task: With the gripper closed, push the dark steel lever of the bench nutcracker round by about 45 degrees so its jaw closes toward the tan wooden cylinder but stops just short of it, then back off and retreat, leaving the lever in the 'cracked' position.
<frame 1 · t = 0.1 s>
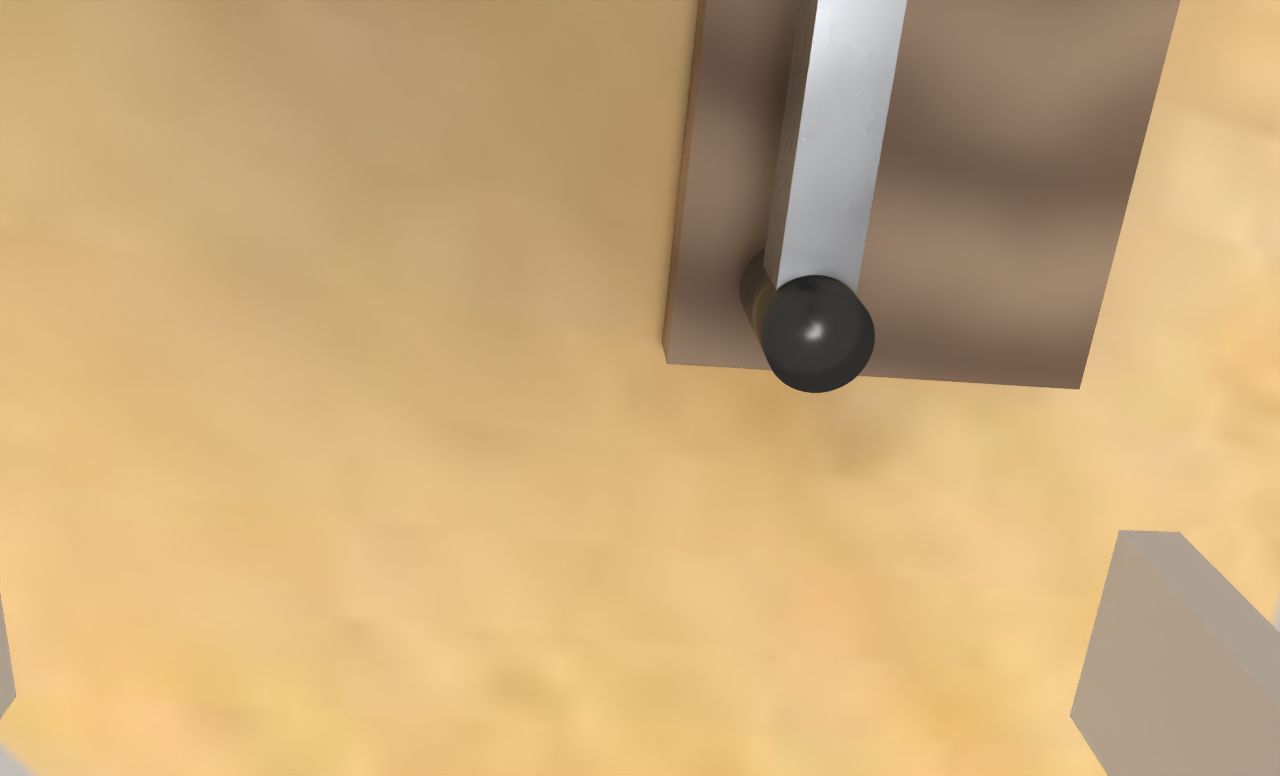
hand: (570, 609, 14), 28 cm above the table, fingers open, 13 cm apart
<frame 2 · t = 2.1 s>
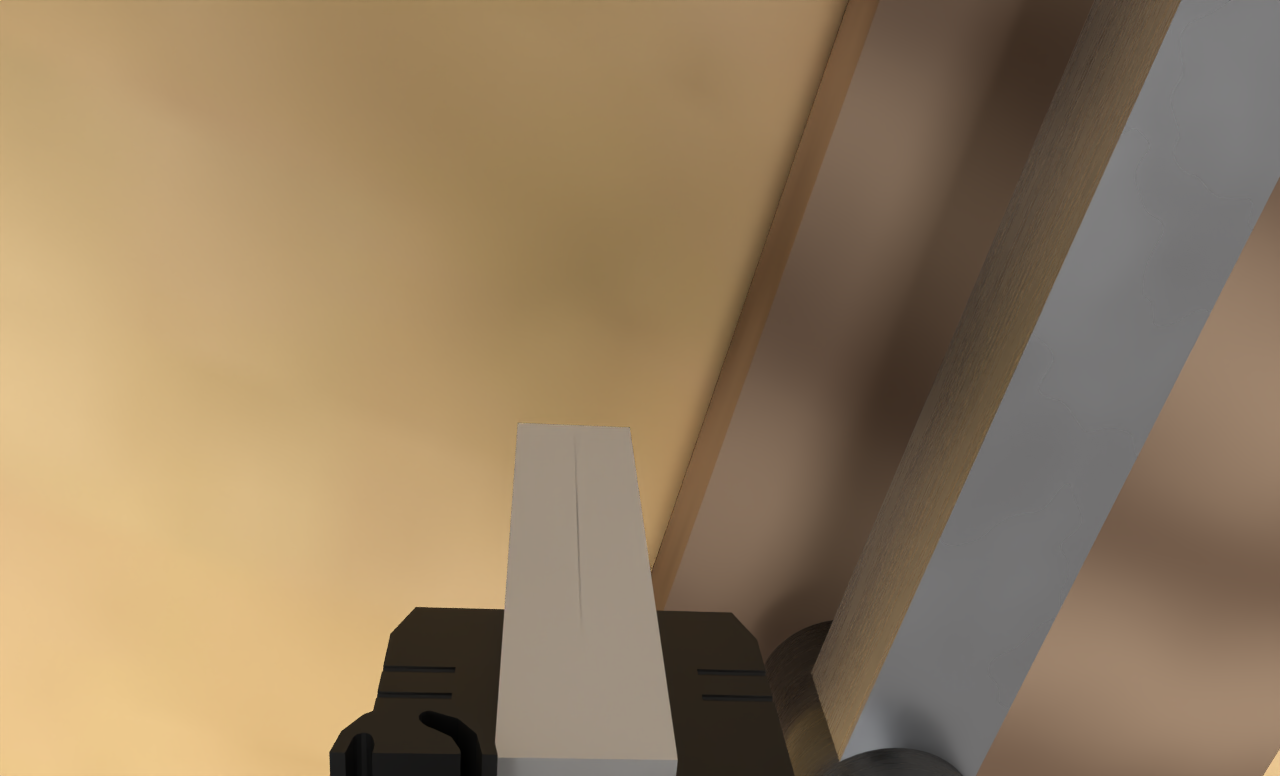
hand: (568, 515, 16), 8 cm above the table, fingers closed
lever: (1145, 190, 17), point 6 cm above the table, hinge at 0.0°
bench: (1206, 105, 23), on the table
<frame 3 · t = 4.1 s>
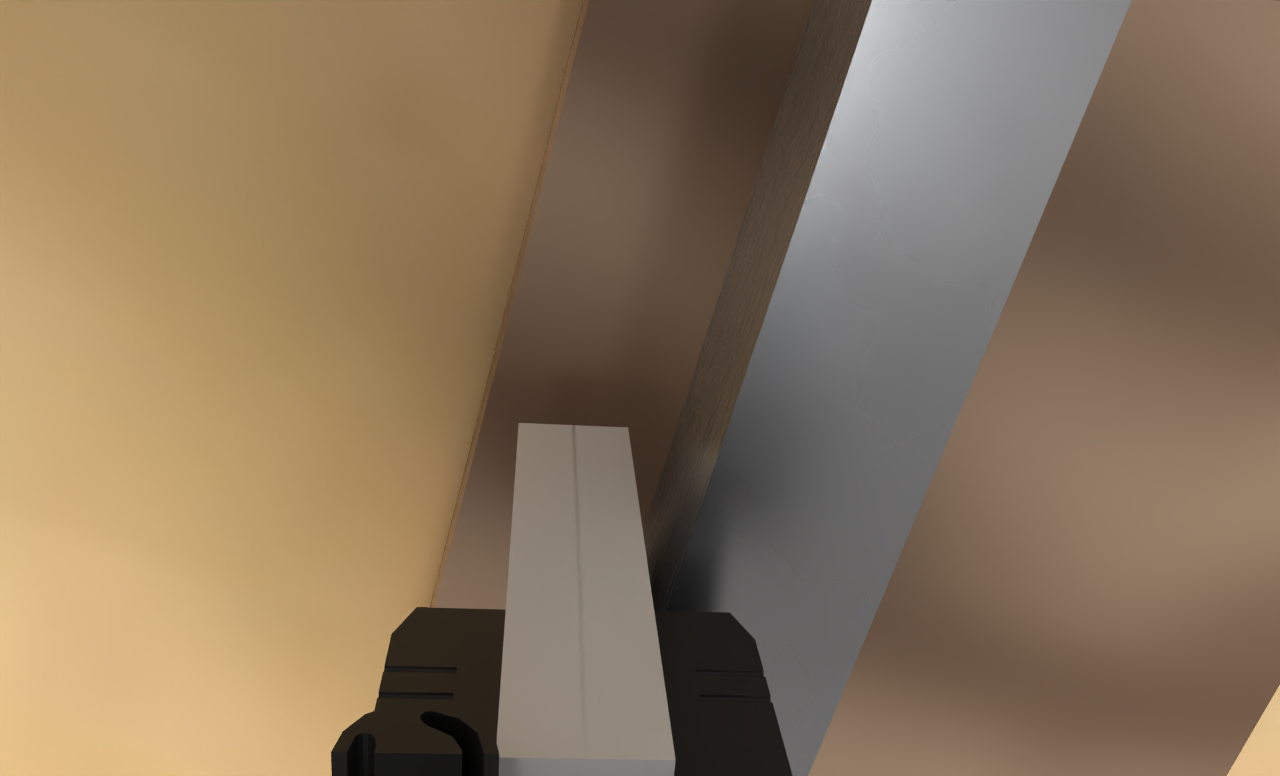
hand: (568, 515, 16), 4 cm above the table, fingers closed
lever: (873, 269, 13), point 6 cm above the table, hinge at 0.1°, touching gripper
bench: (1027, 145, 19), on the table
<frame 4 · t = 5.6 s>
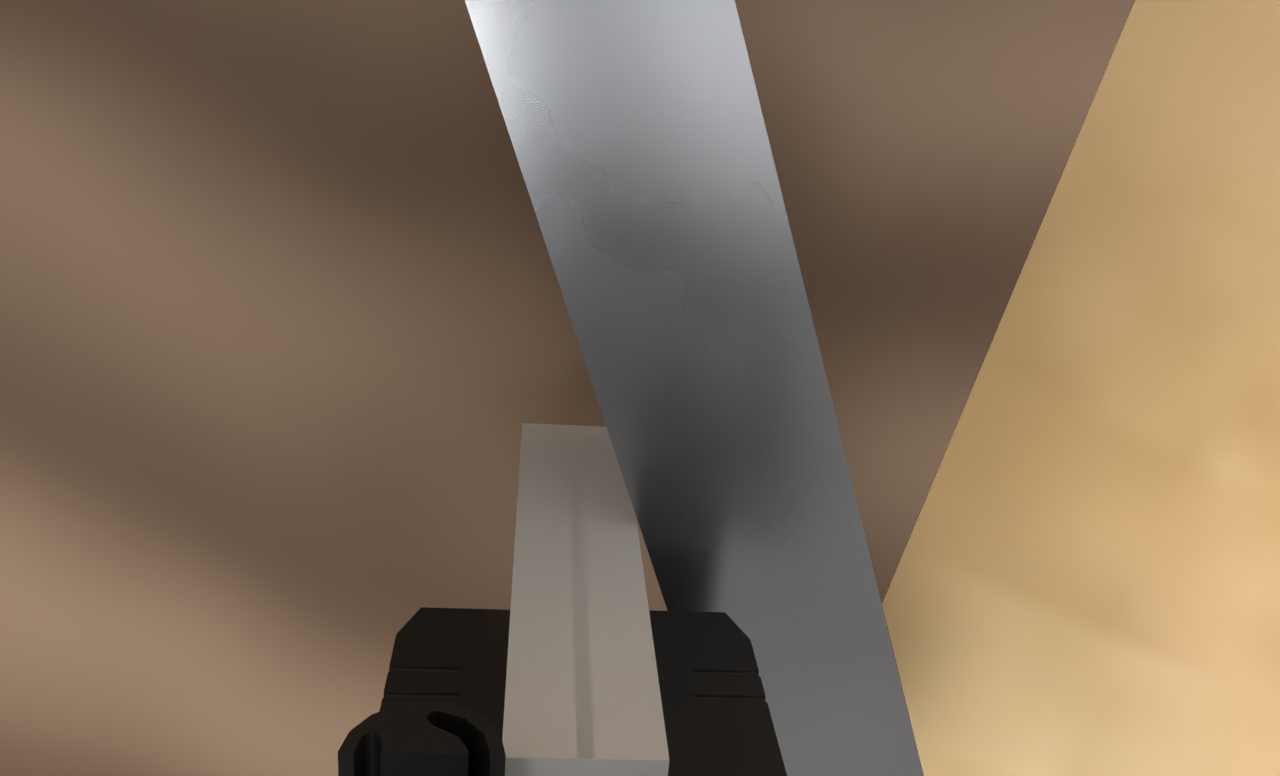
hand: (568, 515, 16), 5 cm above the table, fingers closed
lever: (675, 213, 13), point 6 cm above the table, hinge at 32.0°, touching gripper
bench: (541, 114, 18), on the table
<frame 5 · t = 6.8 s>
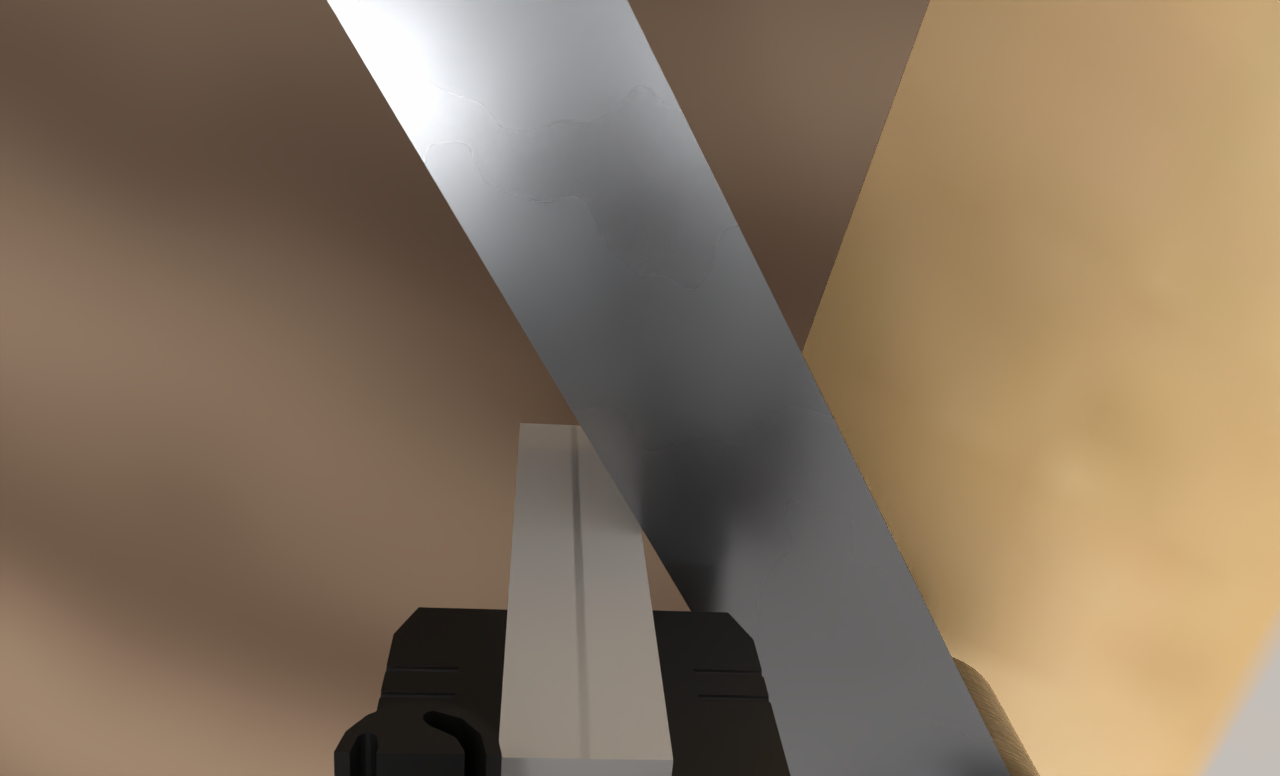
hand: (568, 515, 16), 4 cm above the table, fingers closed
lever: (582, 140, 12), point 6 cm above the table, hinge at 43.5°, touching gripper
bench: (348, 115, 18), on the table
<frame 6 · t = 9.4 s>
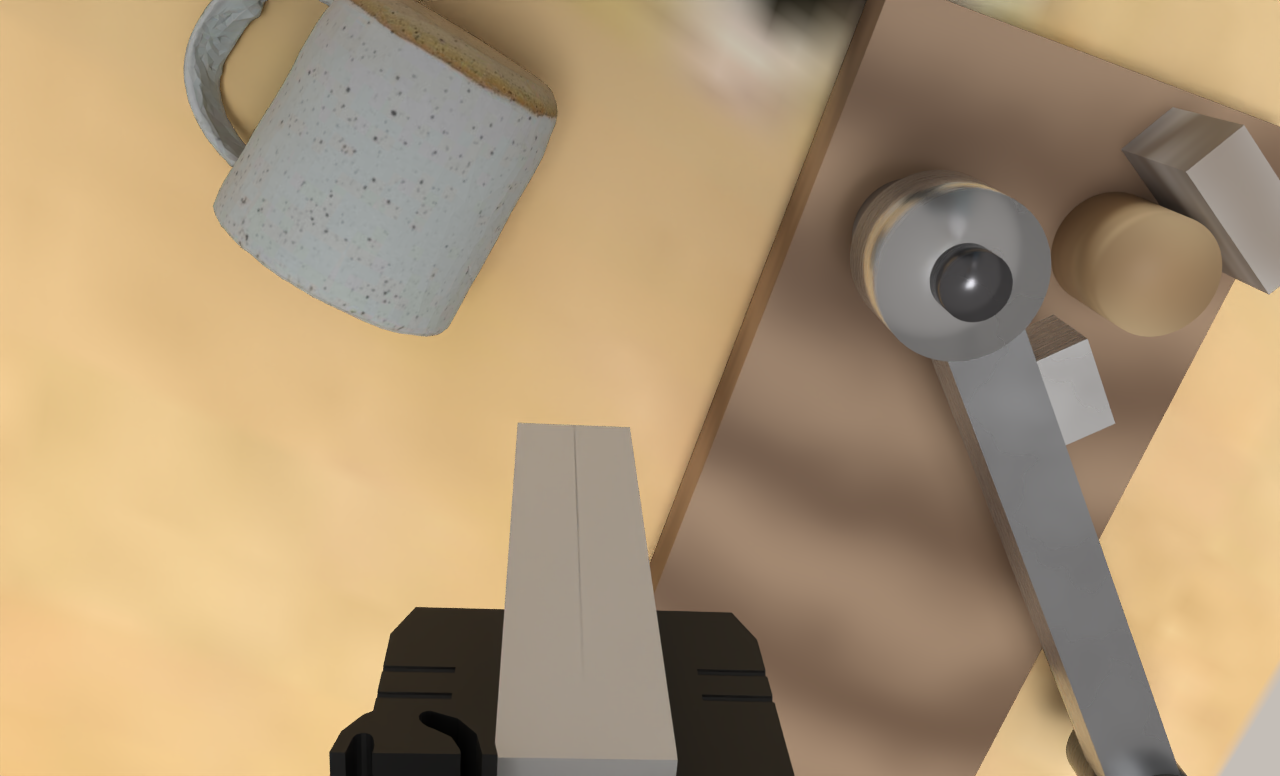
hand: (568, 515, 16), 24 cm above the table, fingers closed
tan wooden cylinder: (1106, 248, 38), point 2 cm above the table, touching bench
lever: (1053, 539, 38), point 6 cm above the table, hinge at 43.6°
ceramic mug: (367, 122, 37), on the table
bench: (891, 479, 43), on the table
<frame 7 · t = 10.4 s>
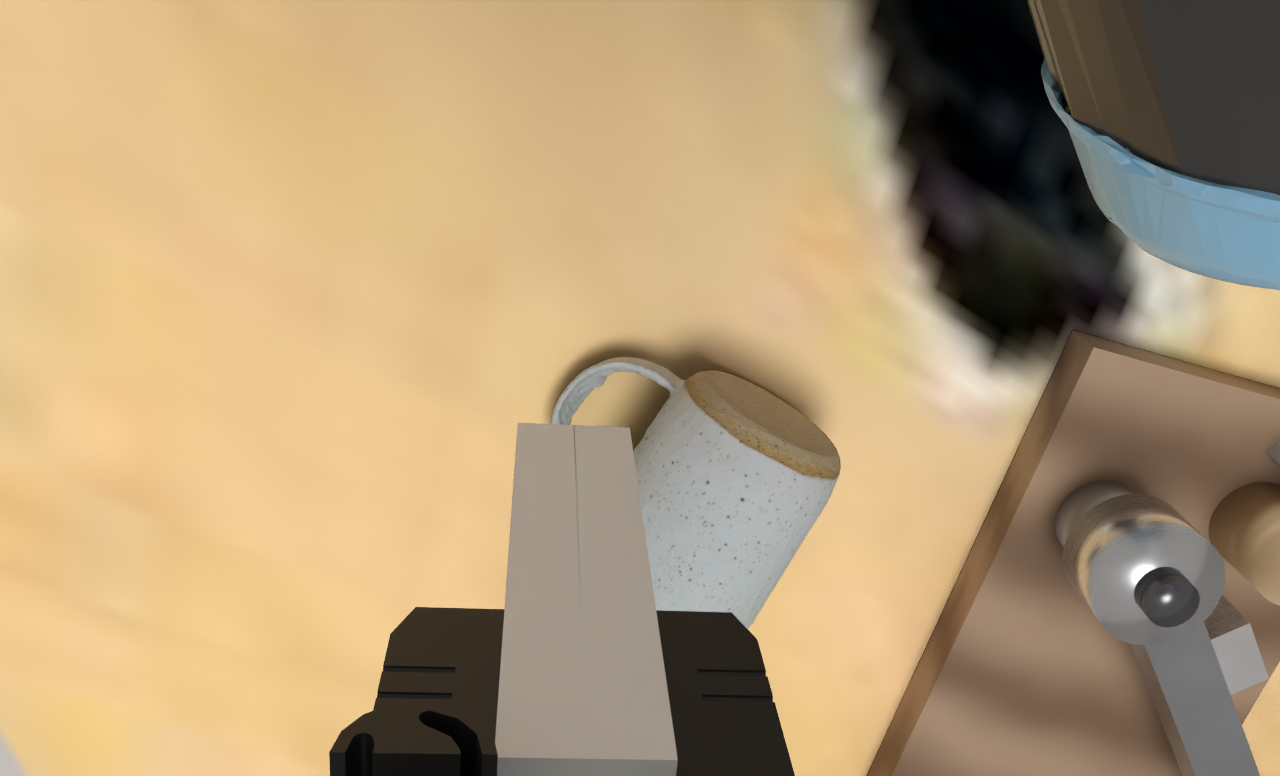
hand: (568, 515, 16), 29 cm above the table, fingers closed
tan wooden cylinder: (1252, 521, 49), point 2 cm above the table, touching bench
lever: (1214, 751, 49), point 6 cm above the table, hinge at 43.6°
ceramic mug: (673, 444, 48), on the table
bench: (1071, 680, 54), on the table
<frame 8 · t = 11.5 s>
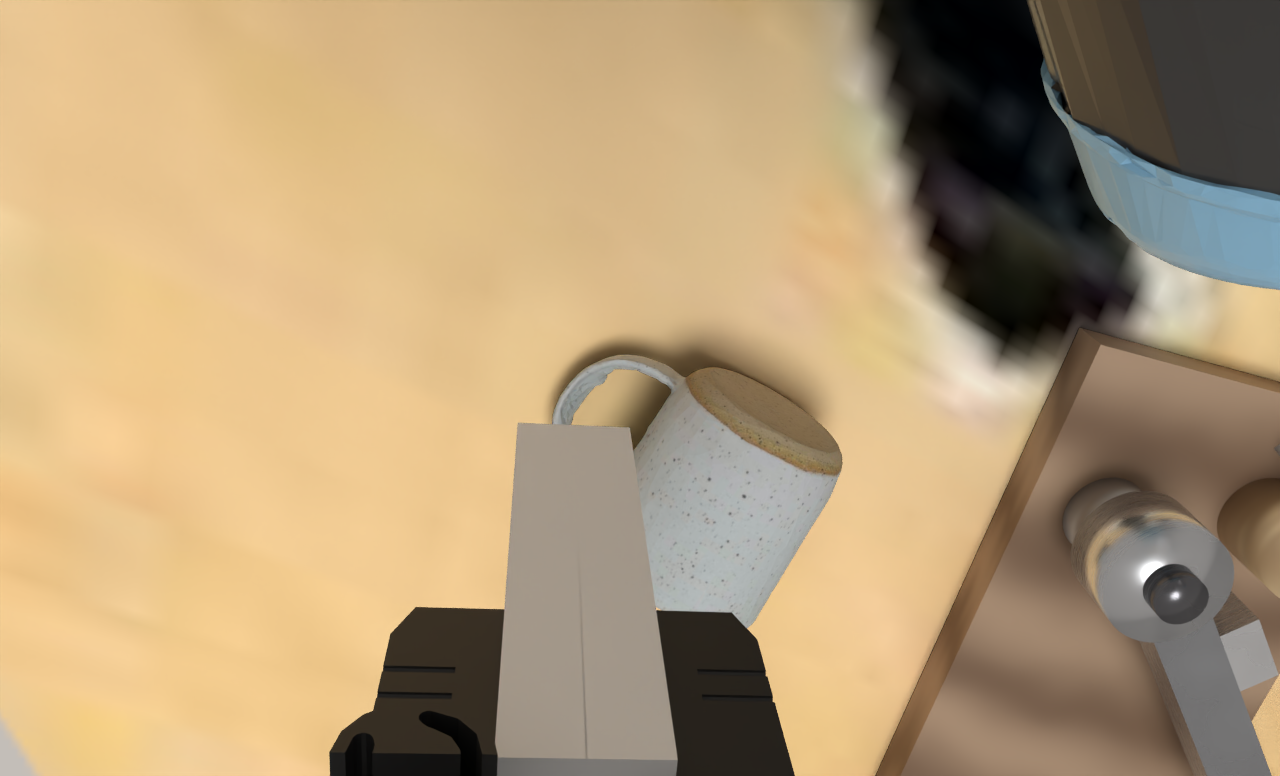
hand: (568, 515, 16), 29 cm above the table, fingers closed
tan wooden cylinder: (1260, 517, 49), point 2 cm above the table, touching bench
lever: (1224, 748, 49), point 6 cm above the table, hinge at 43.6°
ceramic mug: (675, 441, 48), on the table
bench: (1080, 677, 54), on the table
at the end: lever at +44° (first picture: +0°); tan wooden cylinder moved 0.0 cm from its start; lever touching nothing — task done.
